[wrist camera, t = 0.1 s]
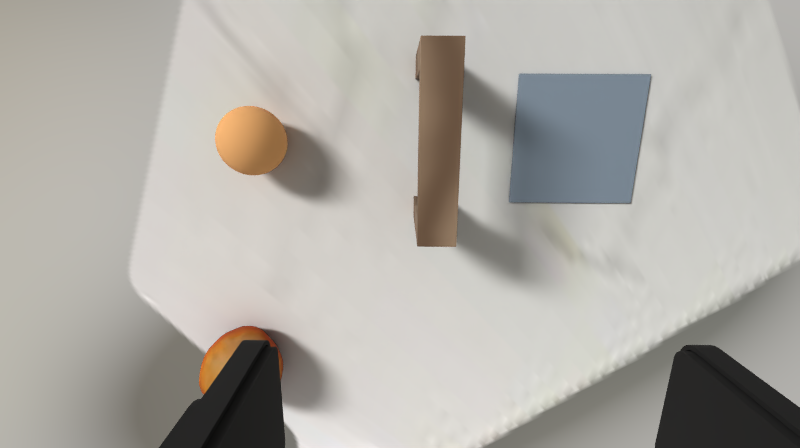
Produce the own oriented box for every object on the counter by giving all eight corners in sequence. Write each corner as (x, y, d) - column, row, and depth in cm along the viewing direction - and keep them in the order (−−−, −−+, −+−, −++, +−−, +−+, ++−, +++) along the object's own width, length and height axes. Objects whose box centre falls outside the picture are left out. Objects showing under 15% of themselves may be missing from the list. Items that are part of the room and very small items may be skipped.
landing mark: (519, 73, 37) (519, 73, 37) (649, 74, 37) (651, 74, 37) (508, 201, 40) (509, 202, 40) (629, 202, 40) (630, 202, 40)
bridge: (413, 215, 40) (417, 246, 31) (415, 55, 36) (421, 35, 27) (443, 215, 40) (456, 246, 31) (448, 55, 36) (465, 35, 27)
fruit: (183, 354, 43) (179, 377, 36) (247, 306, 46) (255, 319, 39) (229, 408, 45) (233, 440, 38) (288, 359, 48) (303, 381, 41)
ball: (228, 106, 38) (197, 105, 32) (292, 106, 38) (273, 105, 32) (235, 170, 39) (207, 179, 33) (296, 170, 39) (278, 180, 33)
